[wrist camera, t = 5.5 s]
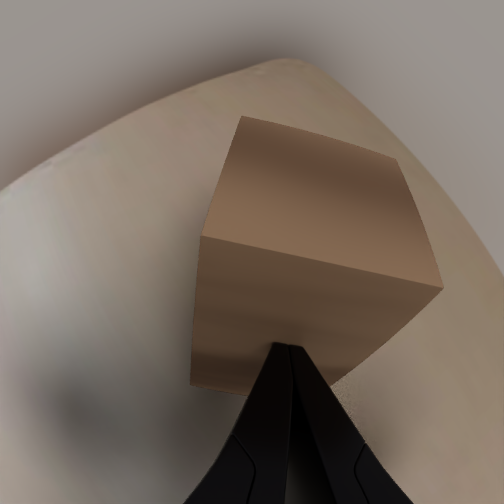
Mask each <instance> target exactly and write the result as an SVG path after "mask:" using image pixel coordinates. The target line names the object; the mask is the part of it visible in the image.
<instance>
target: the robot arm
mask: <svg viewBox="0 0 504 504" xmlns="http://www.w3.org/2000/svg"><path fill="white" fill-rule="evenodd" d="M364 443H365V440H364V439H363V437H362V436H361V434H360V433H359V431H358V430H357V428H356V427H355V425H354V424H353V422H352V420H351V419H350V417H349V416H348V414H347V413H346V411H345V410H344V408H343V407H342V405H341V404H340V402H339V401H338V399H337V398H336V396H335V395H334V393H333V392H332V390H331V388H330V387H329V385H328V384H327V382H326V381H325V379H324V378H323V376H322V375H321V373H320V372H319V370H318V369H317V367H316V365H315V364H314V362H313V361H312V359H311V358H310V356H309V355H308V353H307V352H306V350H305V349H304V347H302V346H299V345H292V344H289V345H287V344H286V343H280V342H273V343H272V346H271V348H270V350H269V352H268V354H267V357H266V359H265V361H264V363H263V365H262V368H261V370H260V372H259V374H258V376H257V379H256V381H255V383H254V385H253V387H252V389H251V391H250V393H249V396H248V398H247V400H246V402H245V404H244V406H243V408H242V410H241V412H240V414H239V416H238V418H237V420H236V422H235V425H234V427H233V429H232V431H231V433H230V435H229V436H228V438H227V440H226V442H225V444H224V446H223V448H222V450H221V451H220V453H219V455H218V457H217V459H216V460H215V462H214V464H213V465H212V466H211V468H210V469H209V471H208V472H207V474H206V475H205V476H204V478H203V479H202V480H201V482H200V483H199V484H198V486H197V487H196V488H195V489H194V491H193V492H192V493H191V494H190V496H189V497H188V498H187V499H186V501H185V502H184V503H183V504H414V503H413V502H412V501H411V500H410V499H409V498H408V497H407V495H406V494H405V493H404V492H403V491H402V490H401V488H400V487H399V486H398V485H397V484H396V483H395V481H394V480H393V479H392V478H391V476H390V475H389V474H388V473H387V472H386V470H385V469H384V468H383V466H382V465H381V464H380V462H379V461H378V459H377V458H376V456H375V455H374V454H373V452H372V451H371V449H370V448H369V446H368V445H367V443H365V444H364Z"/></svg>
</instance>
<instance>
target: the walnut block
mask: <svg viewBox="0 0 504 504" xmlns="http://www.w3.org/2000/svg"><path fill="white" fill-rule="evenodd" d="M443 288H444V287H443V283H442V280H441V276H440V273H439V270H438V266H437V263H436V260H435V257H434V254H433V251H432V248H431V245H430V242H429V239H428V236H427V234H426V231H425V228H424V225H423V223H422V220H421V217H420V215H419V212H418V210H417V207H416V204H415V202H414V200H413V197H412V195H411V192H410V190H409V188H408V185H407V183H406V181H405V178H404V176H403V174H402V172H401V169H400V167H399V165H398V163H397V161H396V159H394V158H391V157H388V156H385V155H382V154H380V153H377V152H374V151H371V150H368V149H365V148H362V147H359V146H356V145H353V144H349V143H346V142H343V141H340V140H336V139H333V138H330V137H326V136H323V135H319V134H315V133H312V132H308V131H304V130H301V129H297V128H293V127H289V126H285V125H281V124H277V123H272V122H268V121H264V120H259V119H254V118H250V117H245V116H241V118H240V121H239V124H238V127H237V129H236V132H235V135H234V138H233V140H232V143H231V146H230V149H229V152H228V155H227V158H226V160H225V163H224V166H223V169H222V172H221V175H220V178H219V181H218V184H217V187H216V190H215V193H214V196H213V199H212V202H211V205H210V208H209V211H208V214H207V217H206V221H205V224H204V227H203V230H202V233H201V239H200V249H199V260H198V271H197V282H196V294H195V307H194V321H193V337H192V354H191V373H190V385H192V386H196V387H201V388H206V389H211V390H216V391H222V392H227V393H233V394H239V395H245V396H249V393H250V391H251V389H252V387H253V385H254V383H255V381H256V379H257V376H258V374H259V372H260V370H261V368H262V365H263V363H264V361H265V359H266V357H267V354H268V352H269V350H270V348H271V346H272V343H273V342H280V343H286V344H287V345H289V344H292V345H299V346H302V347H304V349H305V350H306V352H307V353H308V355H309V356H310V358H311V359H312V361H313V362H314V364H315V365H316V367H317V369H318V370H319V372H320V373H321V375H322V376H323V378H324V379H325V381H326V382H327V384H328V385H329V387H330V386H331V385H333V384H334V383H335V382H337V381H338V380H339V379H341V378H342V377H343V376H345V375H346V374H347V373H349V372H350V371H351V370H353V369H354V368H355V367H356V366H358V365H359V364H360V363H361V362H363V361H364V360H365V359H366V358H368V357H369V356H370V355H371V354H373V353H374V352H375V351H376V350H377V349H379V348H380V347H381V346H382V345H383V344H384V343H386V342H387V341H388V340H389V339H390V338H391V337H393V336H394V335H395V334H396V333H397V332H398V331H399V330H401V329H402V328H403V327H404V326H405V325H406V324H407V323H408V322H409V321H410V320H412V319H413V318H414V317H415V316H416V315H417V314H418V313H419V312H420V311H421V310H422V309H423V308H424V307H425V306H426V305H427V304H428V303H429V302H430V301H431V300H432V299H434V298H435V297H436V296H437V295H438V294H439V292H440V291H441V290H442V289H443Z"/></svg>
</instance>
